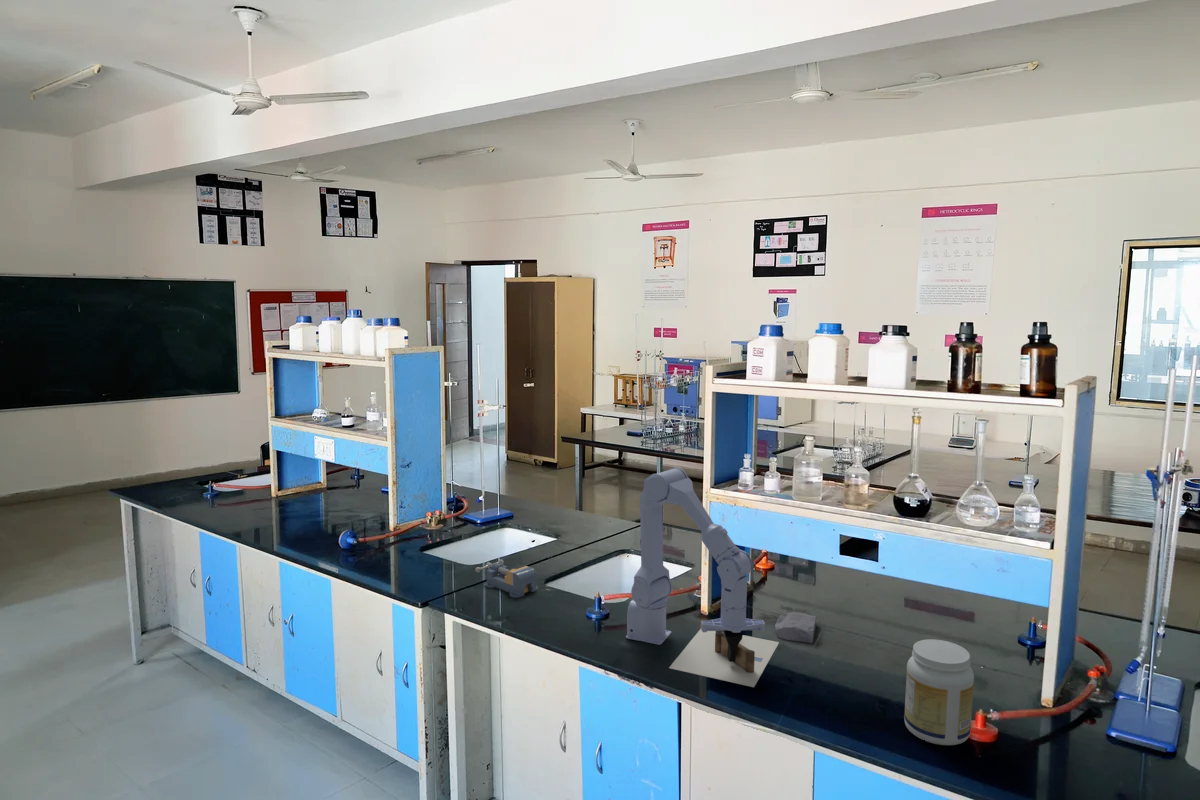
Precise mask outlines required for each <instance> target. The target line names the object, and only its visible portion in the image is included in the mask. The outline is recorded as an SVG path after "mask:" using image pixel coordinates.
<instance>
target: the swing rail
mask: <svg viewBox="0 0 1200 800" xmlns="http://www.w3.org/2000/svg"><path fill="white" fill-rule="evenodd" d="M716 634H719V635H722V636H721V654H722V655H724V656H725V657H727V652H728V642H727V639H726V637H725V634H724V632H723V631H716ZM735 652H736V659H735V663H736V664H738V665H739V666H741V667H742V668H744V669H745V671H746V672H749V673H752V672H754V659H755V652H754V651H753V650H749V649H748V648H746V647H744V646H743V645H741V644H738V646H737V648H736V650H735Z"/></svg>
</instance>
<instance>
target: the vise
mask: <svg viewBox="0 0 1200 800" xmlns="http://www.w3.org/2000/svg"><path fill="white" fill-rule="evenodd" d="M508 568H509V566H507V565H505V564H504V560H503V559H501V558H500V559H499V560H498V561H496V562H493V563H492V562H486V564H485V565H484V566H482V567H480V566H477V567H475V569H474V570H475V572H476V573H480V572H481V570H484V569H486V582H485V583H484V584H485V587H486V588H490V589H494V588H496V589H499V590H501V591H504V592H507V593H509V597H511V598H514V599H515V598H522V597H524V596H525V593H528V592H530V593H534V592H536V591H538V589H539V588H538V585H537V573H536V570H535V569H534V568H533V567H531V566H528V565H524V566H522V567H519V568H518V567H517V568H511V569H508Z"/></svg>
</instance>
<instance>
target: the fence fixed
mask: <svg viewBox="0 0 1200 800" xmlns="http://www.w3.org/2000/svg"><path fill="white" fill-rule="evenodd" d="M721 636H722V635H719V634H716V633H715V652H716V653H721Z"/></svg>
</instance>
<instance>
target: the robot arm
mask: <svg viewBox="0 0 1200 800" xmlns="http://www.w3.org/2000/svg"><path fill="white" fill-rule="evenodd" d="M665 503H666V504H671V505H675V506H676V505H677V506H681V508H682V509H683V510H684V512H685V513H686V514H687V515H688V517H689V518H690V519H691V521H693V523H694V524H695V525H696V527H698V529H699V530H700V531H701V537H700V539H701V542H702V543H703V544H704V545H705V547H706V549H707V551H709V553H710V555H711V556H712V557H713V559H714V560H715V562H716V563H717V564H718V566H716V570H717V571H716V572H717V573H718V576H719V578H720V585H721V595H720V596H721V599H720V617H719V618H715V619H708V620H701V621H700V629H701V630H702V632H707V631H723V632H724V634H725V637H726V639H727V642H728V652H727V658H728V660H729V662H735V659H736V652H735V650H736V648H737V646H738V644H739V643H740V641H741V640H742V637H743V635H744V634H743V633H742V631H759V632H765V631H766V622H765V621H764V620H763V619H752V618H747V598H748V597H747V596H748V593H747V592H748V591H747V590H748V575H749V574H750V573H751V571H752V570H753V560H752V558H751V557H750V554H749V553H748V552H746V551H745V550H742V549H740V547H738V546H737V545H736V544H735V543H734V542H733V539H732V538H731V537H730V536H729V534H728V530H727V529H726V528H725V527H723V526H722V525H720V524H717V523H714V521H713V520H712V518H711V517H710V515H709V513H708V511H707V509H705V507H704V505H703V504H702V502H701V500H700V498H699V497H698V495H697V493H696V492H695V490H694V484H693V481H692V480H691V478H690V477H689V475H688V474H687V472H686V471H685V470H684V469H683V468H681V467H672V468H671V469H667V470H665V471H661V472H657V473H652V474H650V475H649V476H648V477H646V478H645V479H644V480H643V488H642V491H641V493H640V497H639V510H640V513H639V514H640V516H639V517H640V560H641V561H640V562H641V563H640V567H639V569H638V570H637V571H636V573H635V575H634V577H633V584H632V586H631V590H630V593H631V597H632V600H630V601H629V604H628V607H627V613H626V636H625V638H626V639H628V640H633V641H640V642H644V643H648V644H649V643H650V644H652V645H653V644H655V645H660V646H661V645H662V644H663V643H664V642H665V641H666V639H667V638H668V637H669V636H670V635H671V634H672V632H673V631H671V630H667V602H668V600H669V599H668V597H669V596H670V595H671V594H672V592H673V583H672V581H671V578H670V570H669V569H668V568H667V567H665V566H664V534H663V533H664V530H663V529H664V525H663V524H664V522H663V506H664V504H665Z"/></svg>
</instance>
